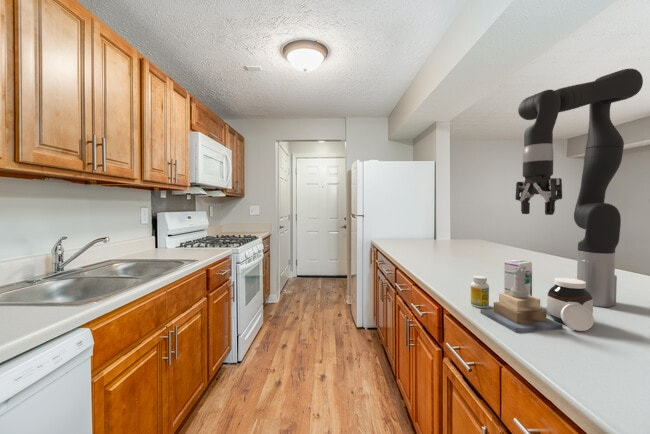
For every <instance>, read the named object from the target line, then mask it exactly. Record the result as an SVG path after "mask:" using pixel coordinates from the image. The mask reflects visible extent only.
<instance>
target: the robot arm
mask: <svg viewBox="0 0 650 434" xmlns="http://www.w3.org/2000/svg"><path fill="white" fill-rule="evenodd" d="M643 85H644V78H643V75H642V73H641V72H640V71H639V70H637V69H636V68H625V69H621V70H617V71H614V72H611V73H609V74H606V75H602V76H600V77H598V78H596V79H595V80H593V81H589V82H585V83H583V82H582V83H578V84H573V85H569V86H564V87H561V88H558V89H546V90H545V89H544V90H543V91H540V92H538V93H535V94H533V95H530V96H528V97H525V98H524V99H523V100H522V101H521V102H520V104H519V105H518V110H517V113H518V115H519V117H521V119H524V120H527V121H533V120H534V123H533V124H531V125H530V126H528V127H527V128H526V129H525V130H524V134H523V135H524V136H523V138H524V139H523V152H522V177H523V178H525V179H524V181H516V184H515V185H516V186H515V197H514V198H515V200H516V201H518V202H520V213H521V214H522V215H529V214H530V207H531V206H530V201H531V199H532V198H534V197H535V195H540V196H541V197H542V198H543V199H544V214H545V215H546V216H553V215H554V214H555V211H556V202H557V201H559V200H562V199H563V181H562V178H560V177H559V178H556V177H555V178H554V177H553V178H552V177H551V176H553V175H554V146H553V145H554V144H553V143H554V142H553V141H554V140H553V139H554V137H553V136H554V133H553V131H554V129H555V128H554V127H555V125H556V122H557V119H558V116H559V113H563V112H568V111H571V110H575V109H579V108H581V107H585V106H587V105H589V107H588V109H589V117H588V119H589V120H588V130H587V131H588V132H587V137H586V144H585V150H584V156H583V167H582V168H583V169H582V174H581V182H580V188H579V193H578V197H577V200H576V203H575V207H574V212H573V220H574V222H575V224H576V225H577V227H579V228H580V229H583V230H585V233H584V238H583V239H581V240H579V242H578V243H577V262H576V263H577V268H576V270H577V271H576V279H578V280H582V281H585V282H586V288H585V289H586V290H587V291H589V292H590V294H591V295H592V298H593V307H594V306H595V307H602V308H609V307H614V305H617V285H618V284H617V281H618V280H617V279H618V276H617V275H616V274H615V271H616V266H615V265H616V248H617V246H618V244H619V242H620V237H621V236H620V234H621V225H622V224H621V223H622V220H621V219H622V218H621V213H620V211H619V209H618V208H617V206H615V205H613V204H611V203H607V202H606V203H605V199H606V193H607V189H608V187H609V184H610V183H611V181H612V180H613V179H614V177H615V175H616V173H617V172H618V171H619V168H620V166H621V164H622V160H623V154H624V147H625V141H624V139H623V137H622V135H621V133H620V132H619V131H618V129H617V128H616V127H615V125H614V124H613V122H612V120H611V106H612V104H613V103H616V102H620V101H625V100H628V99H630V98H633V97H634V96H636V95H637V94H639V92H640V91H641V89H642V87H643Z"/></svg>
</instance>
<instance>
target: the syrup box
mask: <svg viewBox="0 0 650 434" xmlns="http://www.w3.org/2000/svg"><path fill="white" fill-rule="evenodd" d="M514 268H517V269H518V268H520V269H522V268H524V269H525V271H526V274H525V275H524V277H525V279H524V282H525V287H526V290H527V291H528V295H530V296H533V263H532V262H531V261H527V260H522V259H512V260H504V261H503V271H504V272H503V293H511V288H512V286H513V285H514V276H515V274H514V272H513V270H514Z"/></svg>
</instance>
